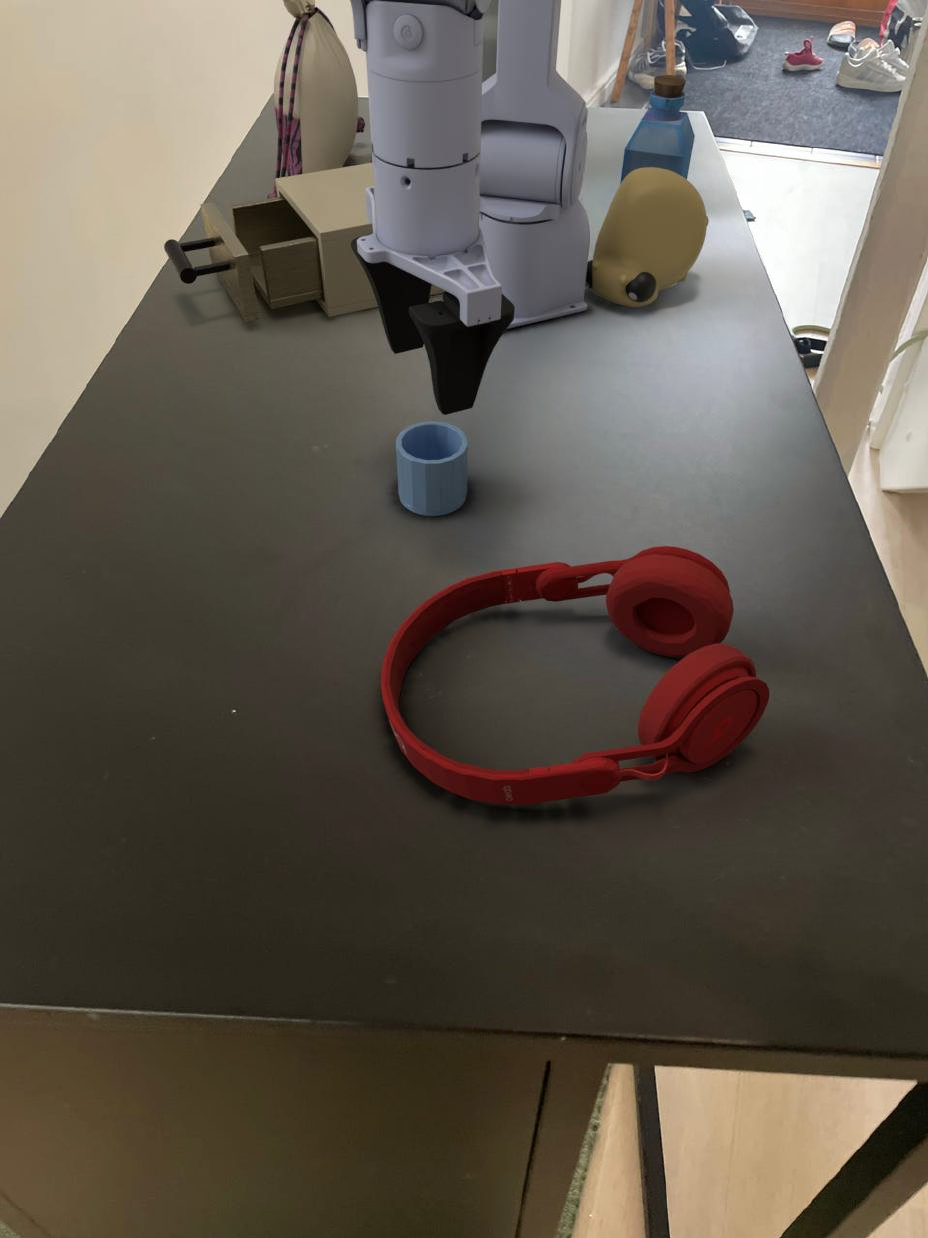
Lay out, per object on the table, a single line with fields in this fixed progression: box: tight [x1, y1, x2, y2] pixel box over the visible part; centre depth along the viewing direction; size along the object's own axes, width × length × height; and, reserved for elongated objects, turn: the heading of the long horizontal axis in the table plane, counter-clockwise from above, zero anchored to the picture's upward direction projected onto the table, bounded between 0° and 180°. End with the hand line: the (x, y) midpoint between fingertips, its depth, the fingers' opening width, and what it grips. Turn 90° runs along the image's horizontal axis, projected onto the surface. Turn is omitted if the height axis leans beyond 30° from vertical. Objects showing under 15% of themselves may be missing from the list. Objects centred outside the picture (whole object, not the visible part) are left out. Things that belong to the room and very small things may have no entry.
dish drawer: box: [163, 196, 324, 322], centre depth 82 cm, size 18×11×6 cm, turn 115°
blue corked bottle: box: [619, 74, 696, 185], centre depth 95 cm, size 6×6×12 cm
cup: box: [395, 420, 469, 517], centre depth 63 cm, size 5×5×4 cm
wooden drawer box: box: [274, 162, 446, 318], centre depth 85 cm, size 15×13×8 cm
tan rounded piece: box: [585, 167, 710, 308], centre depth 82 cm, size 10×12×11 cm
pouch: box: [266, 0, 366, 199], centre depth 95 cm, size 25×8×19 cm, turn 171°
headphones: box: [380, 545, 770, 806], centre depth 50 cm, size 15×7×20 cm
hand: (430, 377), depth 57 cm, fingers open, 7 cm apart
